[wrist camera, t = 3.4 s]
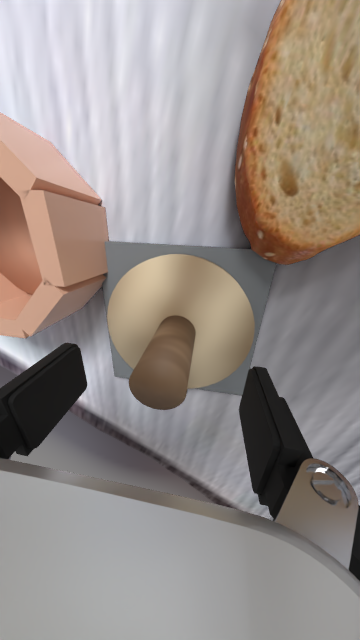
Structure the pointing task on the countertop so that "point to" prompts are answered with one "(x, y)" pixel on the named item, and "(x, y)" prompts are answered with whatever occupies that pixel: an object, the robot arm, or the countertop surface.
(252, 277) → the mat
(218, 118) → the countertop surface
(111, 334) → the lid
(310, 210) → the bread slice
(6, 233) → the bowl
